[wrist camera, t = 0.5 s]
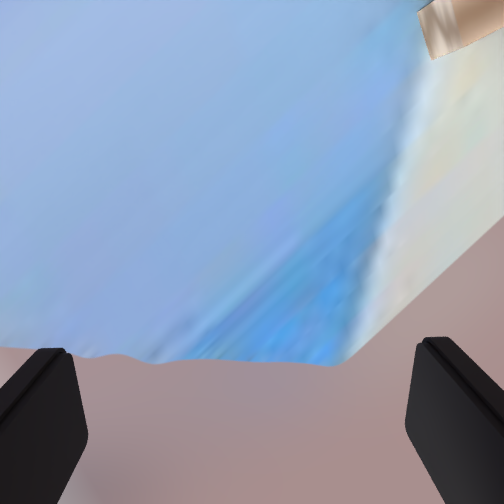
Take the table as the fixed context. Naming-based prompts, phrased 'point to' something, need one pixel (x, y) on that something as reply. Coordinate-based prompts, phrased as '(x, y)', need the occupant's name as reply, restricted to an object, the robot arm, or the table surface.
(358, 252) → the table surface
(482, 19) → the maple block
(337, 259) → the table surface
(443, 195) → the table surface
